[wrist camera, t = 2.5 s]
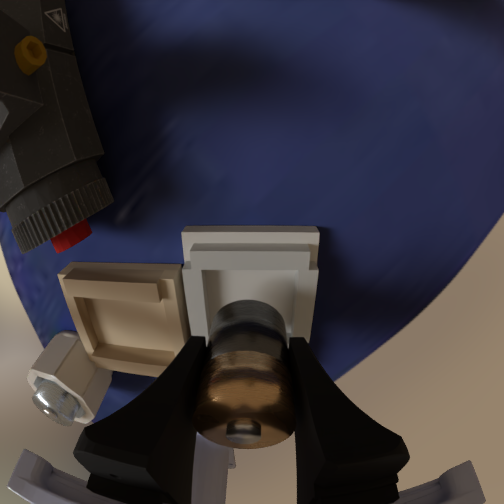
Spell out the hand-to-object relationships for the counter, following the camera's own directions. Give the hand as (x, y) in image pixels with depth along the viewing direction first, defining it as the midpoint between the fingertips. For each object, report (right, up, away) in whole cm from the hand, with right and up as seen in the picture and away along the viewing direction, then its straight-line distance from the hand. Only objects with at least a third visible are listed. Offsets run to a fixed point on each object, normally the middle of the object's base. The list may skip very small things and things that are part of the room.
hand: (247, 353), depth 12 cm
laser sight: (-12, +16, -1) cm, 20 cm away
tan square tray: (-8, 0, +6) cm, 10 cm away
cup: (-14, -5, +8) cm, 17 cm away
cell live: (0, +1, +2) cm, 2 cm away
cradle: (0, +2, +5) cm, 5 cm away
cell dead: (-14, -5, +7) cm, 17 cm away
